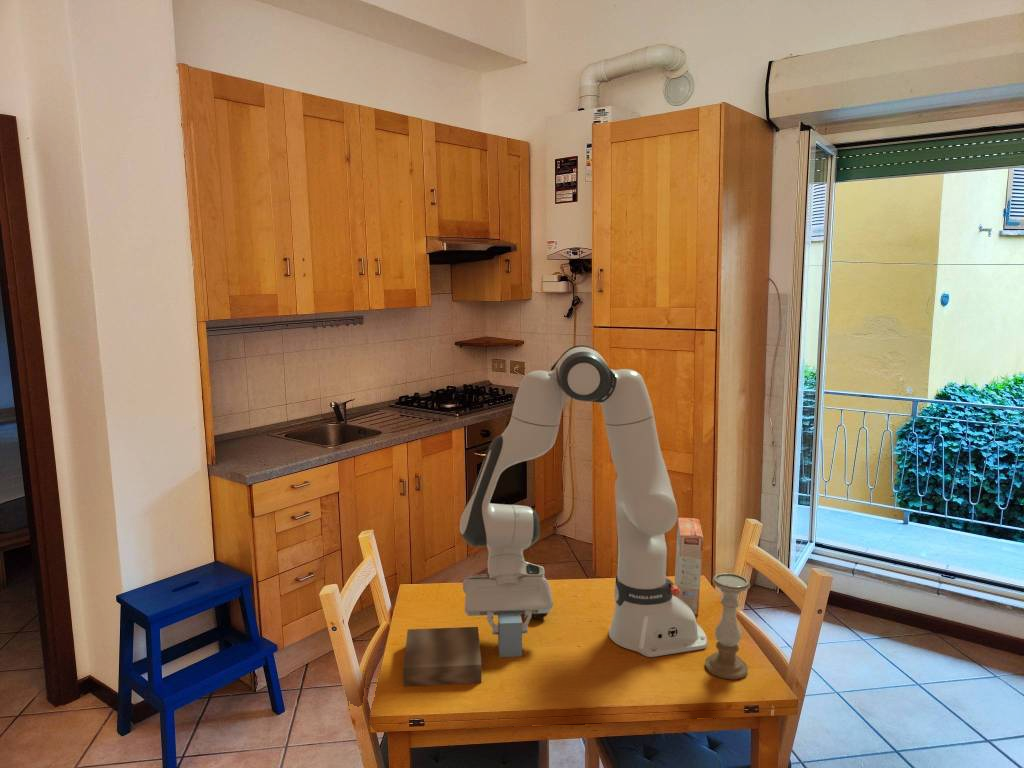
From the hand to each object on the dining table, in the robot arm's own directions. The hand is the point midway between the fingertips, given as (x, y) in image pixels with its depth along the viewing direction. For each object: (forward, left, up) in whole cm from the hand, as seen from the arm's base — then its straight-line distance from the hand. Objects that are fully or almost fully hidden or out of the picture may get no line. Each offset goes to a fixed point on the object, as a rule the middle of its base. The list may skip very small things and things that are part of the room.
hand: (510, 633), depth 155 cm
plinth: (+15, +3, -5) cm, 16 cm away
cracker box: (-48, -21, -5) cm, 52 cm away
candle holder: (-46, +10, -5) cm, 47 cm away
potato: (-7, -20, -5) cm, 21 cm away
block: (0, -1, -5) cm, 5 cm away
